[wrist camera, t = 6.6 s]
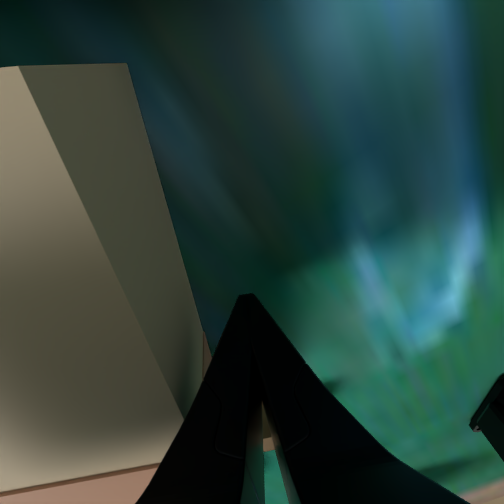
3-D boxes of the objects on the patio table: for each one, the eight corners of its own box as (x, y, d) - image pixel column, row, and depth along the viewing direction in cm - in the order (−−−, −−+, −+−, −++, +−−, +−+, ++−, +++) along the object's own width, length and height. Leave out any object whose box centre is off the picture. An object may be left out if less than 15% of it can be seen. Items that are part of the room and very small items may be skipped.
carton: (129, 62, 6) (18, 66, 3) (221, 391, 14) (225, 509, 11) (-308, 109, 6) (-1195, 193, 2) (37, 423, 14) (-26, 559, 10)
